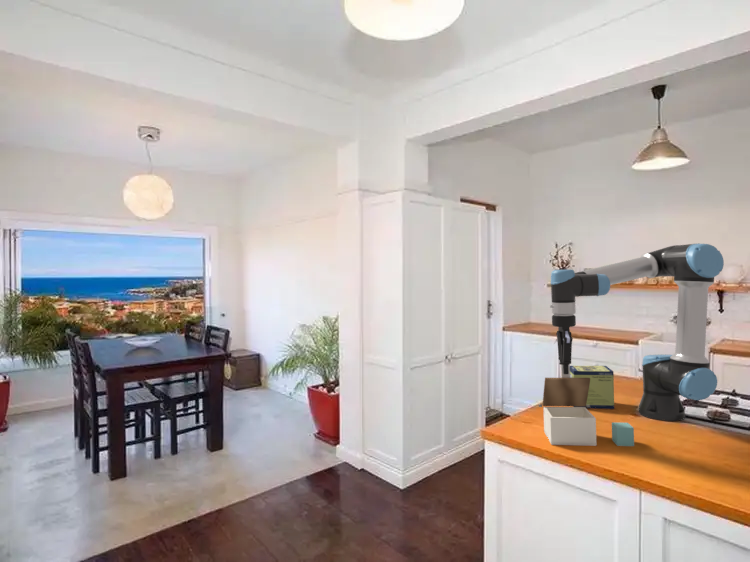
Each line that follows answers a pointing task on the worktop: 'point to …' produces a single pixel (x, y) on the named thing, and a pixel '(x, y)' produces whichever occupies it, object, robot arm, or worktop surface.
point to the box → (569, 426)
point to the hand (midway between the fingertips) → (565, 382)
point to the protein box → (597, 385)
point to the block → (622, 434)
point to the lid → (565, 391)
